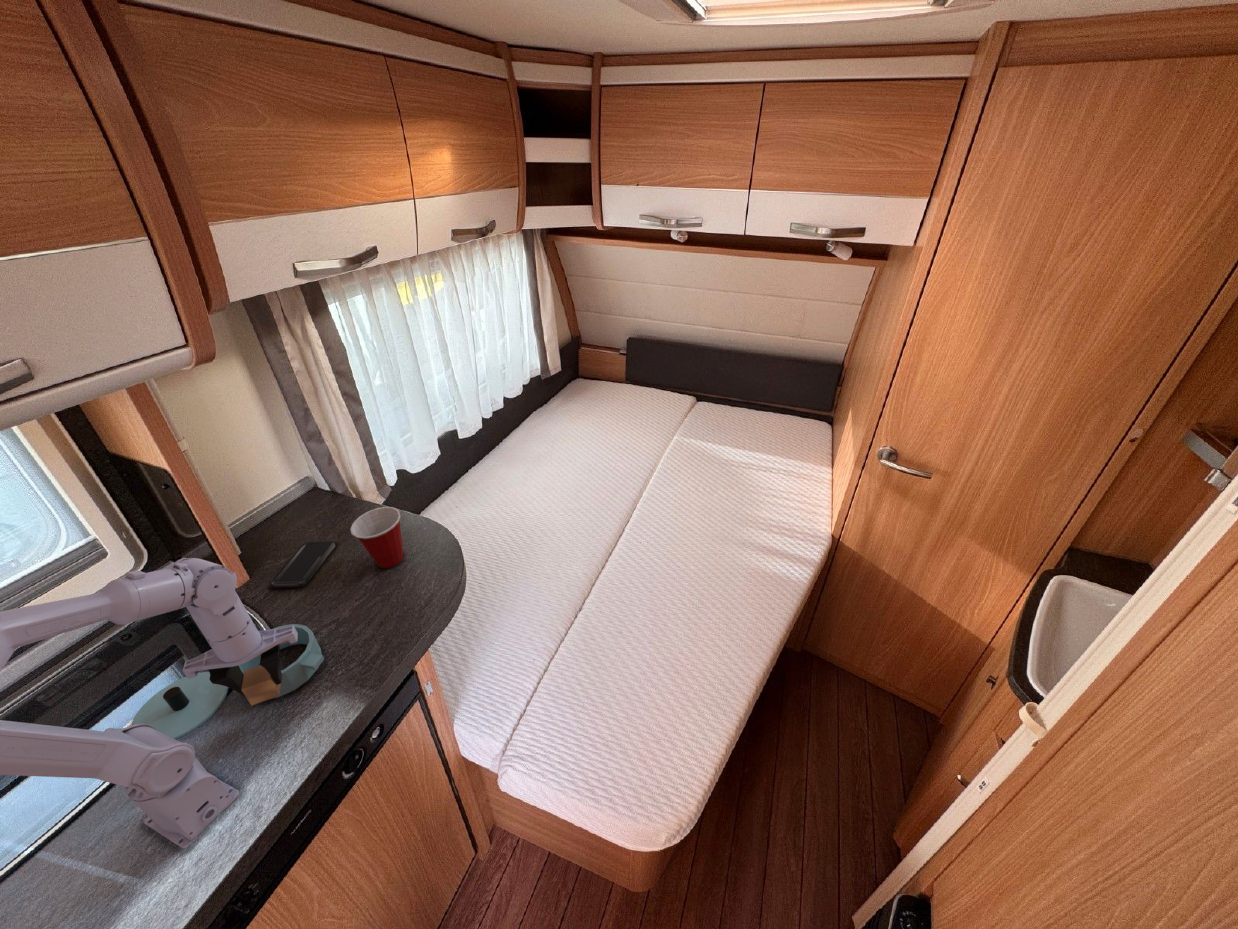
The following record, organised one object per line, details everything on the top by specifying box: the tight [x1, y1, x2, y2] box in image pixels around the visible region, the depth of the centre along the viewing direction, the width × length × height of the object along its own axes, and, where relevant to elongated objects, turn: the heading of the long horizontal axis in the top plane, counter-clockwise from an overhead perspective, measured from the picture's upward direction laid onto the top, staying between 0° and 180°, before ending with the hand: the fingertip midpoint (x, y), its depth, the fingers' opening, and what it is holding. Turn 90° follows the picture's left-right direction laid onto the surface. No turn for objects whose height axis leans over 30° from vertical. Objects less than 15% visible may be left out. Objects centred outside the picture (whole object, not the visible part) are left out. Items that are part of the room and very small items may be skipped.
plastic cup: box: [350, 506, 404, 569], centre depth 118 cm, size 11×11×12 cm
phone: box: [270, 540, 336, 589], centre depth 121 cm, size 8×1×15 cm
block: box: [241, 664, 281, 707], centre depth 83 cm, size 4×4×4 cm
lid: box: [131, 671, 229, 740], centre depth 88 cm, size 14×14×4 cm
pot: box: [239, 623, 325, 699], centre depth 94 cm, size 13×18×5 cm
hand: (263, 685), depth 83 cm, fingers closed on block, 4 cm apart
